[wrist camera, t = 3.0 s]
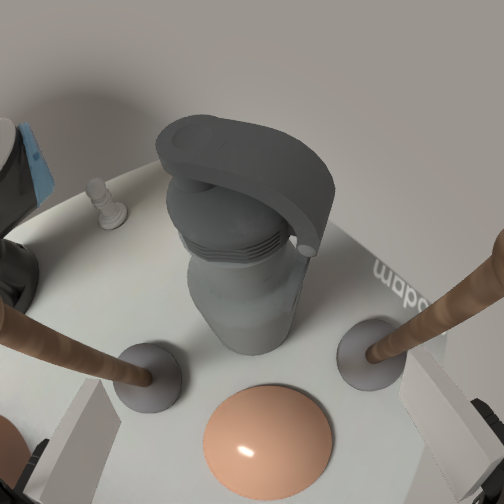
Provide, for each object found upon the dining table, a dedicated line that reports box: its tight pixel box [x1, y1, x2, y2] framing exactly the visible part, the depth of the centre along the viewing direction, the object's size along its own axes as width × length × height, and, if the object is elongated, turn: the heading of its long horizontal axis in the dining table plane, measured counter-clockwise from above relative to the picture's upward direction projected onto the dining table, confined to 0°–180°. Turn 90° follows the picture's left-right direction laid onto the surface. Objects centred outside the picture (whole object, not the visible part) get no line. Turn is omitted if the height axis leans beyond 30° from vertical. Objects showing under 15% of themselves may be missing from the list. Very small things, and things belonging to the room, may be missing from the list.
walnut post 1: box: [0, 295, 182, 413], centre depth 21 cm, size 9×9×29 cm
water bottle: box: [156, 115, 335, 356], centre depth 25 cm, size 10×10×28 cm
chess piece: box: [85, 178, 127, 229], centre depth 42 cm, size 5×5×9 cm
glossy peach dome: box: [203, 386, 332, 500], centre depth 29 cm, size 15×15×1 cm
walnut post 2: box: [336, 229, 504, 391], centre depth 21 cm, size 9×9×29 cm
